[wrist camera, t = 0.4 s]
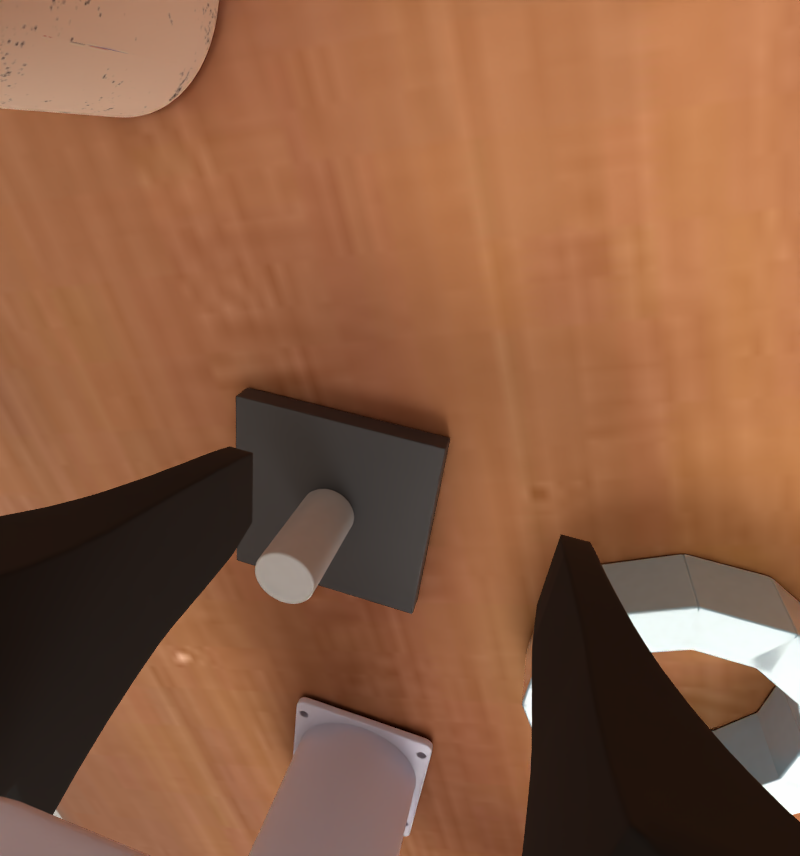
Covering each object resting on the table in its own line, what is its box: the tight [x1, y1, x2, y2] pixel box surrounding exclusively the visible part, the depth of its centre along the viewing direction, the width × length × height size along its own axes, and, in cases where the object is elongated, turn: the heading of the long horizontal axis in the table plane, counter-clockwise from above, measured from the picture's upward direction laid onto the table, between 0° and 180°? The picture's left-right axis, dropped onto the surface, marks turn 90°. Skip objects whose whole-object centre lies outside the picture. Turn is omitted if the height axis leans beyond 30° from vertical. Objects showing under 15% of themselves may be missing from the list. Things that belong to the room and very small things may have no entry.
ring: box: [522, 554, 800, 815], centre depth 23 cm, size 12×12×3 cm
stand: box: [236, 388, 450, 614], centre depth 23 cm, size 9×9×6 cm
